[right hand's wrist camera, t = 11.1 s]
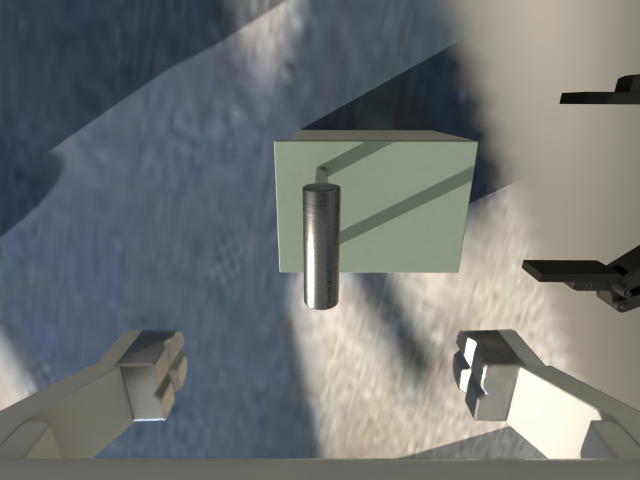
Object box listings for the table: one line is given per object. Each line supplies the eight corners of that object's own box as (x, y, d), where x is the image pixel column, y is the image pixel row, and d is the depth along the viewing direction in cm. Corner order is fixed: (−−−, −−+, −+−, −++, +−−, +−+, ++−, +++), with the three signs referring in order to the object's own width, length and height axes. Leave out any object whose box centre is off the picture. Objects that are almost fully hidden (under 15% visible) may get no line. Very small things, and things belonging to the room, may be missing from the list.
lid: (281, 265, 27) (264, 334, 19) (276, 139, 23) (253, 157, 15) (453, 266, 27) (509, 335, 19) (471, 139, 23) (549, 158, 15)
